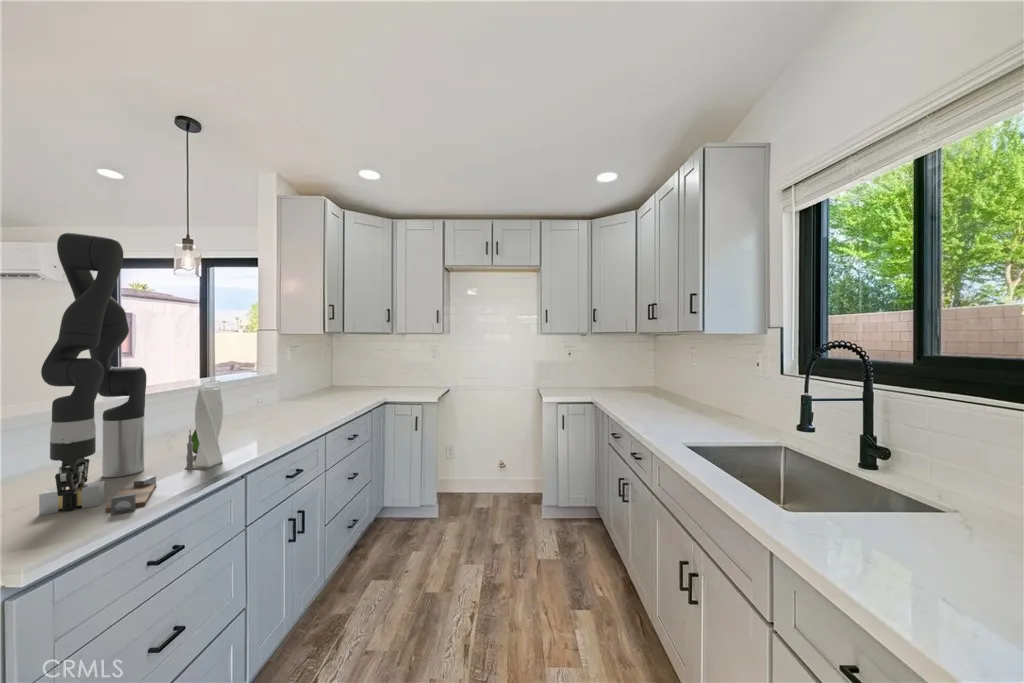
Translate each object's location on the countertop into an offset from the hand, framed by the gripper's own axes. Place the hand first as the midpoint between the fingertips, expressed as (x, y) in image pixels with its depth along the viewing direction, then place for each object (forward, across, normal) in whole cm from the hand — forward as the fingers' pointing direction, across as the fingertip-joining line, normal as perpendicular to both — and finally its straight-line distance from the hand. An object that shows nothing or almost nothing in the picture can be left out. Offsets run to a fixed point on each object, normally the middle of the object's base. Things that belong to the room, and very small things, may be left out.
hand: (73, 506), depth 96 cm
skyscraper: (0, -22, +25) cm, 33 cm away
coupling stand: (0, +1, +11) cm, 11 cm away
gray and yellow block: (0, 0, 0) cm, 0 cm away
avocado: (0, -38, +23) cm, 44 cm away
